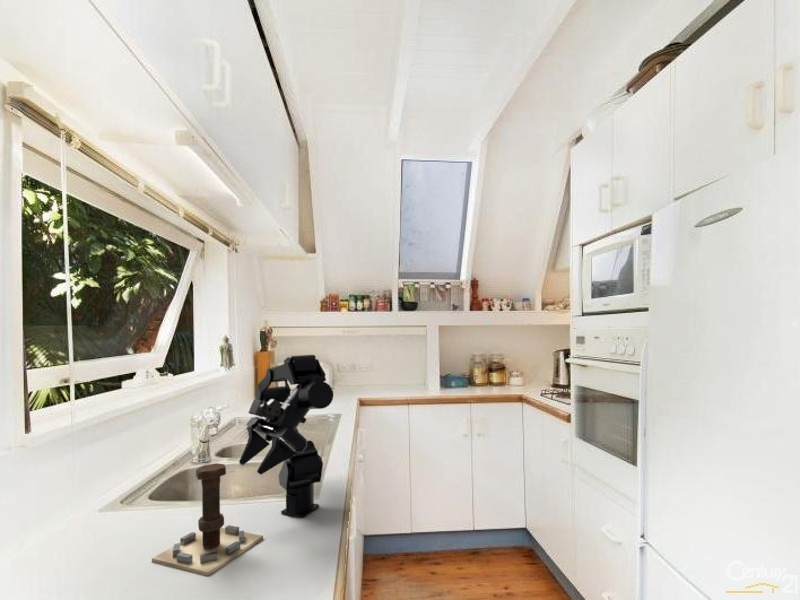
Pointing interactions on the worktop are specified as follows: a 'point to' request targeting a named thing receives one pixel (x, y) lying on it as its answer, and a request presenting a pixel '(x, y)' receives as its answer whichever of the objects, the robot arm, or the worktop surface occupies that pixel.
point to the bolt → (211, 504)
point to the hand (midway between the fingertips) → (249, 468)
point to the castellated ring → (210, 556)
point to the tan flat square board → (197, 549)
